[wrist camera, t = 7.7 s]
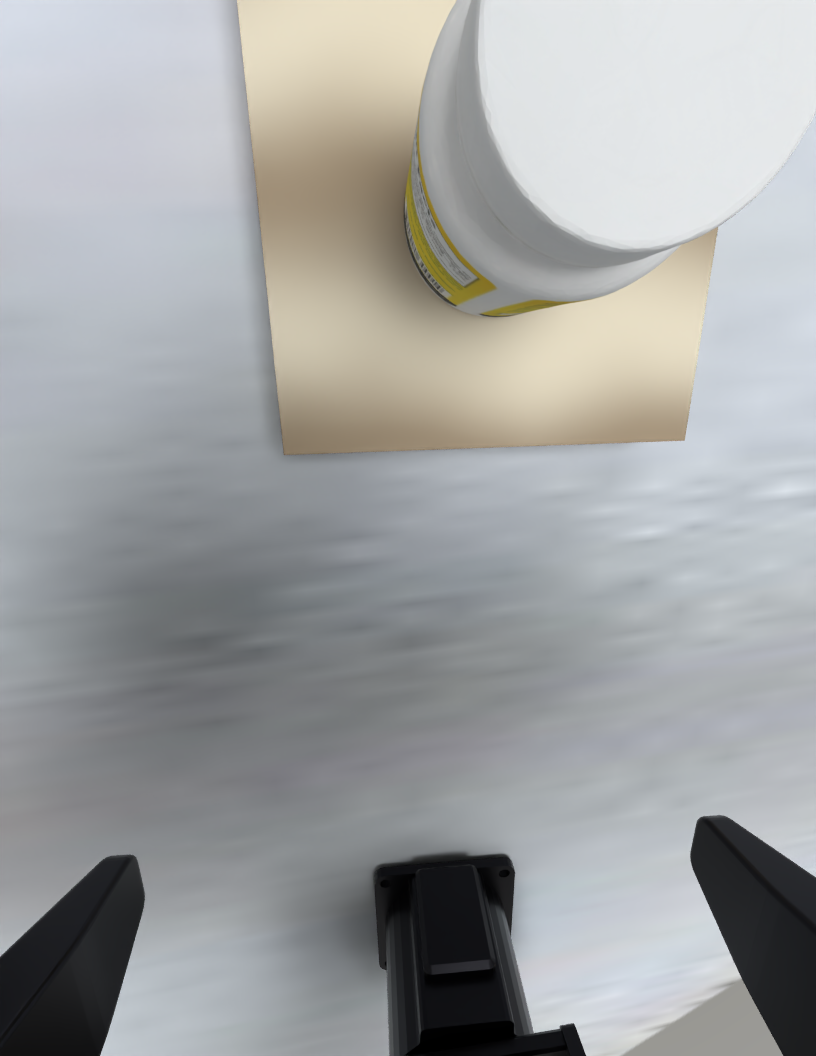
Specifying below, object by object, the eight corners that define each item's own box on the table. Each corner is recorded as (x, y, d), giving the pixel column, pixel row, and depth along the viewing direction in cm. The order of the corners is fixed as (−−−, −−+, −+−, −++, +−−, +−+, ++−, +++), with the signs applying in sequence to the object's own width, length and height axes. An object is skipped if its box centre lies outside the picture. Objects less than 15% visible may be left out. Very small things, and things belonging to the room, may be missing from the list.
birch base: (643, 428, 18) (684, 440, 16) (295, 440, 17) (283, 454, 15) (700, -18, 14) (767, -91, 12) (251, -27, 13) (225, -107, 11)
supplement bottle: (617, 158, 13) (992, -122, 5) (537, 344, 14) (734, 351, 7) (441, 69, 12) (563, -429, 4) (374, 277, 14) (375, 189, 6)
